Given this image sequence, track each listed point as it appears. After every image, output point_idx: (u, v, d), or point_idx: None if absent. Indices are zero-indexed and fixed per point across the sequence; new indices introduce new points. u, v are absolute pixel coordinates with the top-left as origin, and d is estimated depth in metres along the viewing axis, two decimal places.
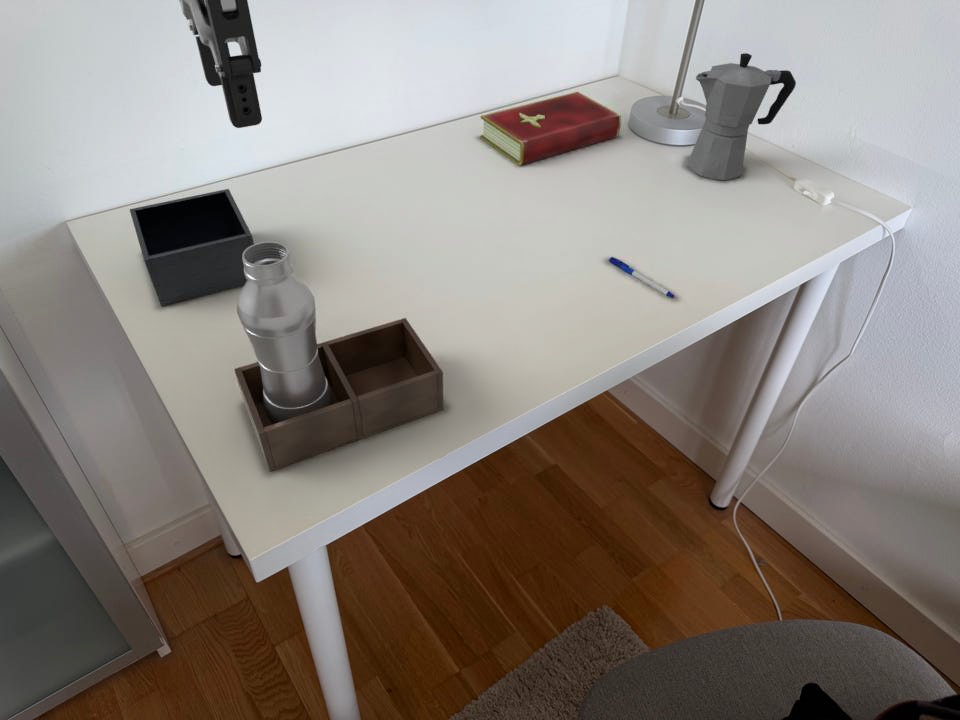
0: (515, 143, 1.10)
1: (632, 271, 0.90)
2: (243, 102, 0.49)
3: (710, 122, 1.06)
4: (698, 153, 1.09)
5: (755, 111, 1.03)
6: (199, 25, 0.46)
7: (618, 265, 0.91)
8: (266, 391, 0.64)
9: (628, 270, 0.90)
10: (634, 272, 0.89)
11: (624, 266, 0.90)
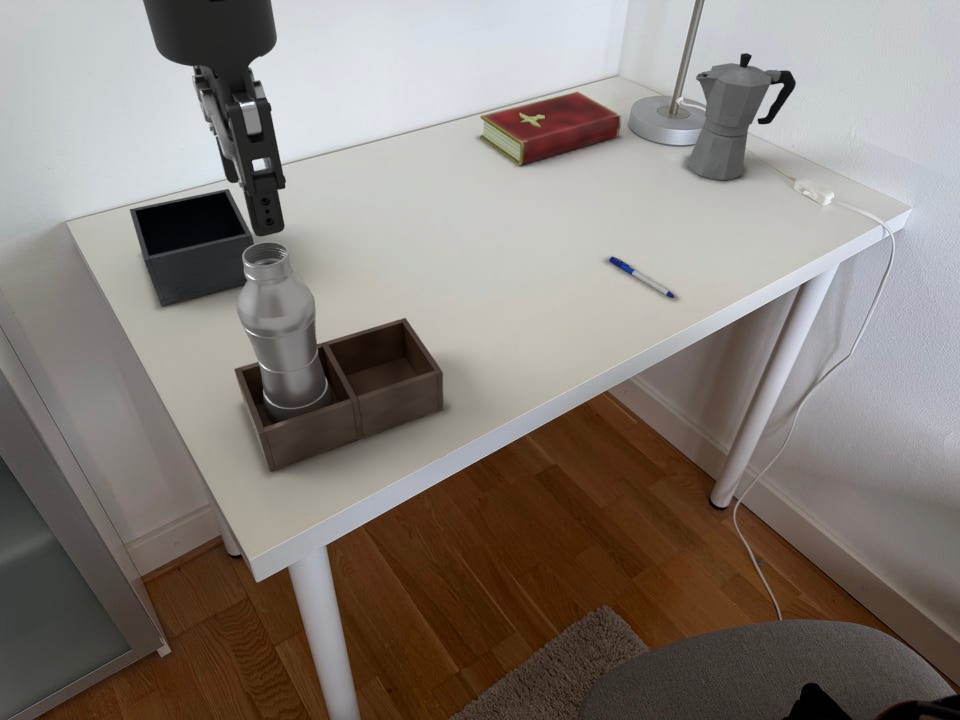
0: (515, 143, 1.10)
1: (632, 271, 0.90)
2: (266, 214, 0.48)
3: (710, 122, 1.06)
4: (698, 153, 1.09)
5: (755, 111, 1.03)
6: (222, 142, 0.45)
7: (618, 265, 0.91)
8: (266, 391, 0.64)
9: (628, 270, 0.90)
10: (634, 272, 0.89)
11: (624, 266, 0.90)
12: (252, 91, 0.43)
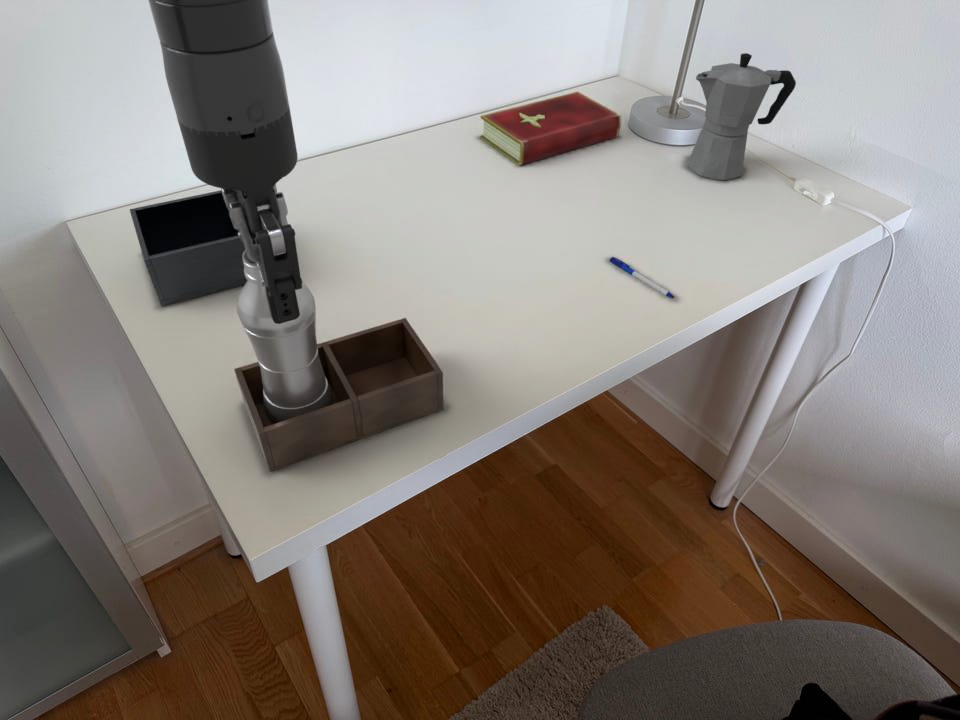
0: (515, 143, 1.10)
1: (632, 271, 0.90)
2: (284, 306, 0.55)
3: (710, 122, 1.06)
4: (698, 153, 1.09)
5: (755, 111, 1.03)
6: (248, 251, 0.51)
7: (619, 265, 0.91)
8: (266, 391, 0.64)
9: (628, 270, 0.90)
10: (634, 272, 0.90)
11: (625, 266, 0.90)
12: (276, 207, 0.49)
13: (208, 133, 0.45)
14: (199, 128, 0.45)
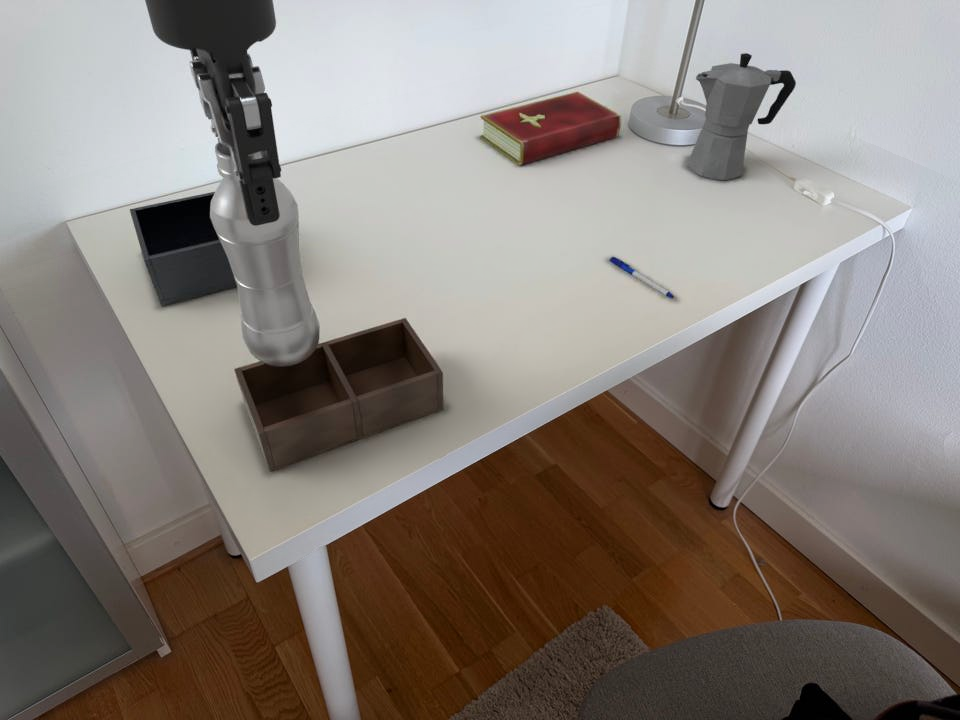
0: (515, 143, 1.10)
1: (632, 271, 0.90)
2: (261, 203, 0.48)
3: (710, 122, 1.06)
4: (698, 153, 1.09)
5: (755, 111, 1.03)
6: (220, 131, 0.45)
7: (619, 265, 0.91)
8: (244, 314, 0.58)
9: (629, 270, 0.90)
10: (634, 272, 0.90)
11: (625, 266, 0.90)
12: (250, 76, 0.43)
13: None
14: None
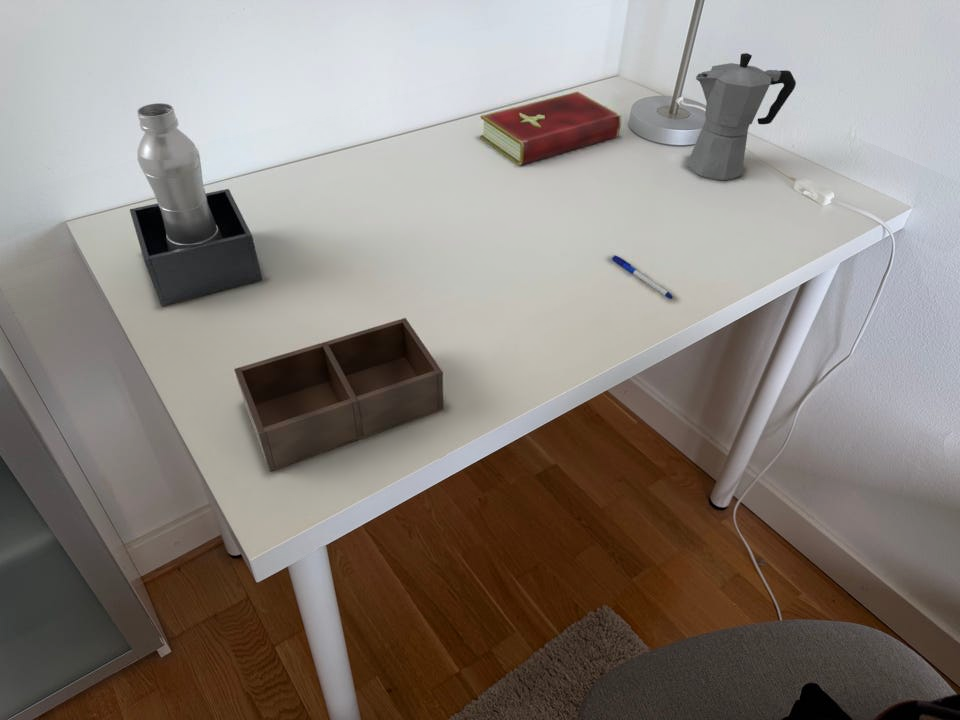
0: (515, 143, 1.10)
1: (633, 270, 0.90)
2: None
3: (710, 122, 1.06)
4: (698, 153, 1.09)
5: (755, 111, 1.03)
6: None
7: (620, 264, 0.91)
8: (167, 231, 0.83)
9: (630, 269, 0.90)
10: (635, 271, 0.90)
11: (626, 265, 0.91)
12: None
13: None
14: None
